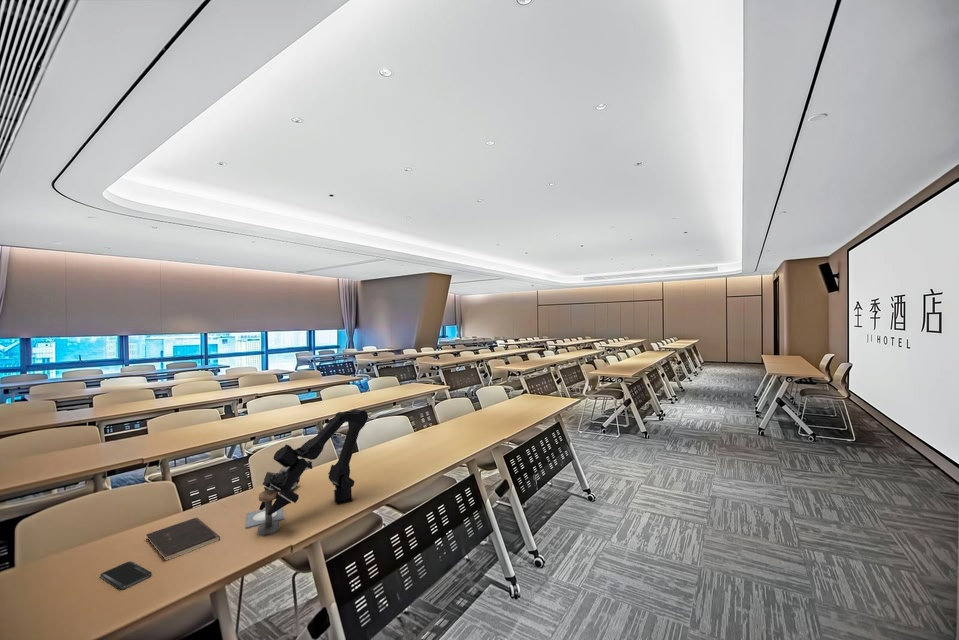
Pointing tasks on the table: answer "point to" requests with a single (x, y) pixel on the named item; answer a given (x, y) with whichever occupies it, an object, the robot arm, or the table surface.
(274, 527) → the stool
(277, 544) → the table surface
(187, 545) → the hardcover book
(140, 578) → the phone
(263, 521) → the mat
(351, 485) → the robot arm
